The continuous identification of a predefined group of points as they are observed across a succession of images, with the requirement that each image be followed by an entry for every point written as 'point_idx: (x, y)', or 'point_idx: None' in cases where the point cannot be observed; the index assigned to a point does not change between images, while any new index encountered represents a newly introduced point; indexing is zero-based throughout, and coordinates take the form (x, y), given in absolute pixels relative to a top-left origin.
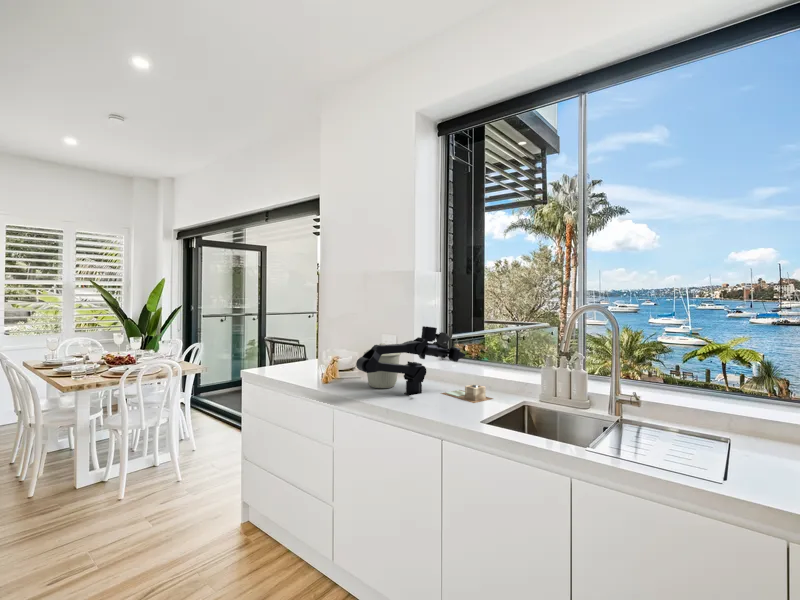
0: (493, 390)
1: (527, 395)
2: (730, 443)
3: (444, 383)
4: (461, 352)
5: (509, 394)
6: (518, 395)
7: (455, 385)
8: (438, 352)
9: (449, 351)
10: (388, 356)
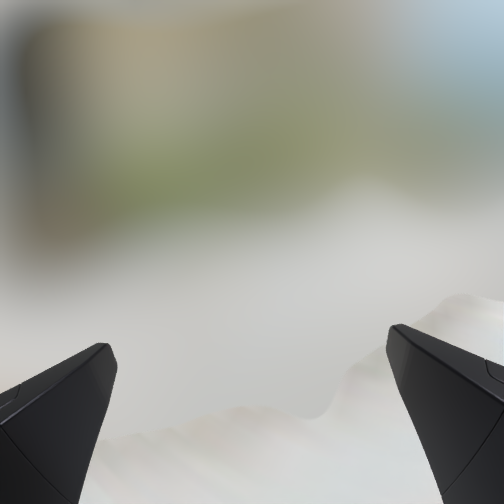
0: (380, 364)
1: (459, 298)
2: None
3: (127, 484)
4: (492, 363)
5: (450, 336)
6: (462, 318)
7: (201, 471)
8: None
9: (83, 409)
10: None
